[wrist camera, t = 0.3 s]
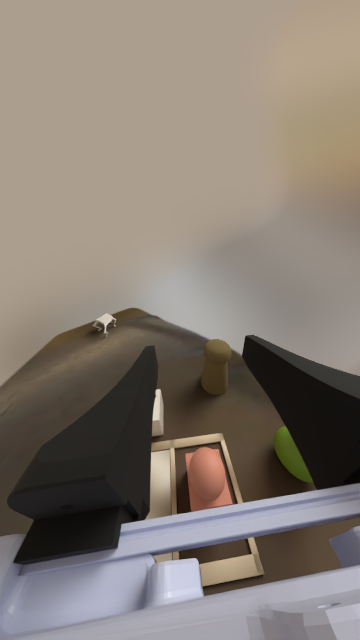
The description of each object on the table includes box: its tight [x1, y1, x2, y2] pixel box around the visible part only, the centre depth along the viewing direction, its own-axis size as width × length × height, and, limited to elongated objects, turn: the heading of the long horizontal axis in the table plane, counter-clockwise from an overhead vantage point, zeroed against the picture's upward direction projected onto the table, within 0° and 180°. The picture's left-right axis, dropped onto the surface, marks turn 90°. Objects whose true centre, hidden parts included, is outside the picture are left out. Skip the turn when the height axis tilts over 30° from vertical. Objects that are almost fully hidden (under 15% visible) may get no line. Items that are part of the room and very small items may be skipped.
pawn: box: [186, 447, 232, 512], centre depth 15 cm, size 4×4×9 cm
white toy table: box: [93, 313, 116, 336], centre depth 53 cm, size 12×8×5 cm
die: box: [152, 389, 163, 436], centre depth 24 cm, size 5×5×5 cm
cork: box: [201, 339, 231, 395], centre depth 28 cm, size 6×6×11 cm
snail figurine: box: [274, 426, 314, 483], centre depth 16 cm, size 5×6×12 cm
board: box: [145, 433, 264, 587], centre depth 17 cm, size 11×25×1 cm, turn 95°
